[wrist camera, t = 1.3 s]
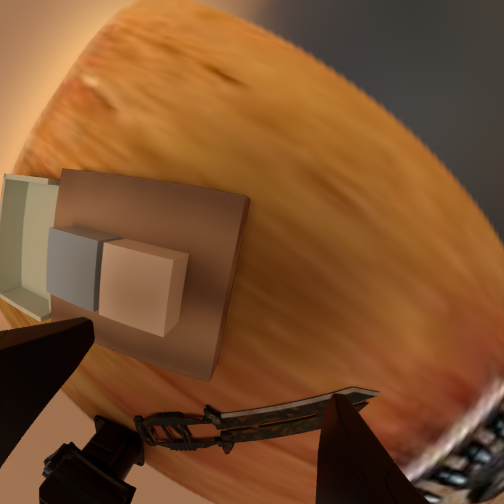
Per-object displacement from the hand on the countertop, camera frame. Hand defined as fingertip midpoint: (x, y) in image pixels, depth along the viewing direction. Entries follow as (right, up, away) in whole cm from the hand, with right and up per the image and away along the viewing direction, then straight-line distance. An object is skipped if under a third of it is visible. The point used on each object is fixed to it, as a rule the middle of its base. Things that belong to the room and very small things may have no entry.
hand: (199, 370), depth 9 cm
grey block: (-11, +3, +11) cm, 16 cm away
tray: (-20, +5, +15) cm, 25 cm away
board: (-8, +3, +14) cm, 16 cm away
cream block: (-5, +2, +11) cm, 12 cm away
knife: (+1, -12, +15) cm, 20 cm away
